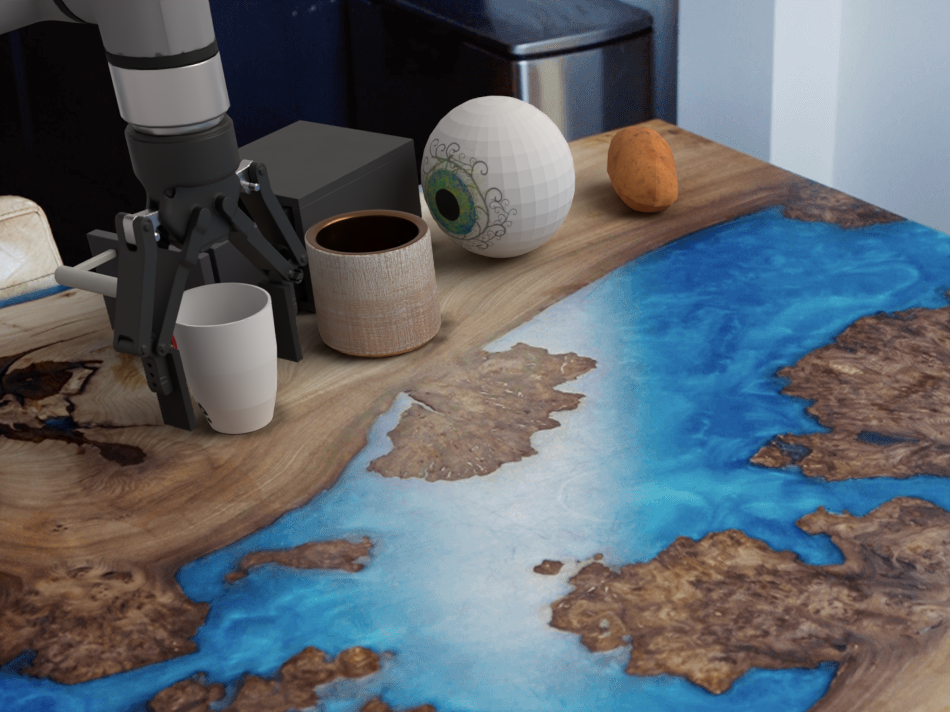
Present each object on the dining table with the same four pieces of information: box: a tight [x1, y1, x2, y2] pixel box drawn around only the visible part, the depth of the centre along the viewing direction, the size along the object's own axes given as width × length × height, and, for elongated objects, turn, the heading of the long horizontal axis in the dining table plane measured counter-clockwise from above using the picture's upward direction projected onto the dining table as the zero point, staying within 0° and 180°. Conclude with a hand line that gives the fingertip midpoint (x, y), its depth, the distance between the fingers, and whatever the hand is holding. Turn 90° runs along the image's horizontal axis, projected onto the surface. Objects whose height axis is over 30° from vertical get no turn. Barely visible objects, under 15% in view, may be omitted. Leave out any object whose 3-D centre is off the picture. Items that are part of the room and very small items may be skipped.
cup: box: [172, 283, 278, 435], centre depth 112 cm, size 8×8×10 cm
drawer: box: [53, 197, 307, 346], centre depth 125 cm, size 23×13×9 cm, turn 153°
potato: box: [606, 125, 679, 213], centre depth 151 cm, size 7×13×7 cm, turn 10°
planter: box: [305, 209, 442, 359], centre depth 124 cm, size 11×11×10 cm
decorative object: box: [420, 95, 576, 259], centre depth 138 cm, size 15×15×15 cm
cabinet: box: [238, 119, 423, 314], centre depth 137 cm, size 18×14×11 cm
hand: (236, 390), depth 114 cm, fingers open, 12 cm apart
